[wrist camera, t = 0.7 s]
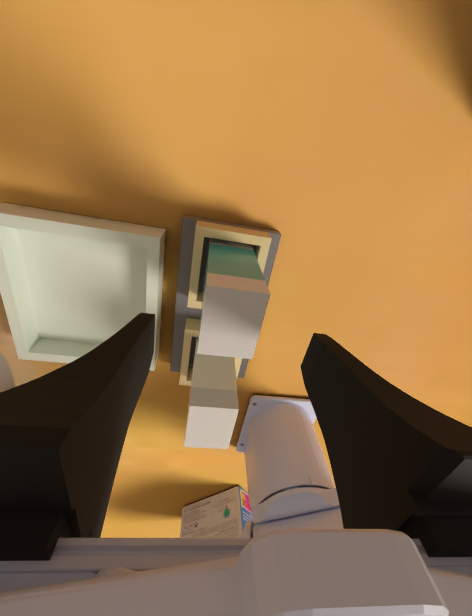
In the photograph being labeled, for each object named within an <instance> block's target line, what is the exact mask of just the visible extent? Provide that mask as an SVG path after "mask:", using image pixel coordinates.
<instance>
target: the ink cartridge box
mask: <svg viewBox="0 0 472 616" xmlns="http://www.w3.org/2000/svg"><path fill="white" fill-rule="evenodd" d="M248 521H253V516H252V510H251V507H250V503H249V495H248V493H247V492H246V491H245V490H244V489H242V488H241V487H240V486H236V487H234V488H231V489H229V490H226V491H224V492H221V493H219V494H216V495H214V496H211V497H208V498H206V499H203V500H201V501H198V502H195V503H193V504H190V505H188V506H185V507H183V509H182V521H181V533H180V538H240V537H241V533H242V531H243V529H244V527H245V524H246V522H248Z"/></svg>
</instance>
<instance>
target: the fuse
mask: <svg viewBox="0 0 472 616" xmlns="http://www.w3.org/2000/svg"><path fill="white" fill-rule="evenodd" d="M197 347H198V337H196V345H195V352H194V360H193V368H192V377H191V386H190V395H189V404H188V414H187V423H186V432H185V441H184V447H198V448H218V449H228V448H229V444H230V441H231V437H232V433H233V429H234V426H235V422H236V418H237V415H238V411H239V404H238V393H237V382H236V370H235V359H234V357H224V356H214V355H204V354H197Z"/></svg>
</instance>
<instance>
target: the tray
mask: <svg viewBox="0 0 472 616" xmlns="http://www.w3.org/2000/svg"><path fill="white" fill-rule="evenodd" d="M165 238H166V229H163V228H157V227H151V226H145V225H139V224H133V223H126V222H120V221H114V220H108V219H102V218H96V217H89V216H83V215H77V214H71V213H65V212H58V211H52V210H46V209H40V208H34V207H28V206H21V205H15V204H9V203H2V204H0V293H1V296H2V300H3V304H4V307H5V311H6V315H7V318H8V322H9V326H10V329H11V333H12V337H13V340H14V344H15V348H16V351H17V355H18V359H23V360H35V361H46V362H58V363H71V362H73V361H74V360H76V359H78V358H80V357H81V356H83V355H85V354H87V353H88V352H90V351H91V350H93V349H94V348H96V347H97V346H99V345H100V344H101V343H103V342H104V341H106V340H107V339H109V338H110V337H111V336H112V335H114V334H115V333H116V332H118V331H119V330H120V329H121V328H123V327H124V326H125V325H126V324H127V323H129V322H130V321H131V320H132V319H133V318H134V317H136V316H137V315H138V314H139V313H149V314H155V336H154V353H153V357H152V361H151V366H150V369H149V371H154V370H155V367H156V363H157V360H158V356H159V350H160V331H161V313H162V294H163V275H164V257H165Z"/></svg>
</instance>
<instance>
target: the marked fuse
mask: <svg viewBox="0 0 472 616" xmlns="http://www.w3.org/2000/svg"><path fill="white" fill-rule="evenodd" d="M269 297H270V292H269V289H268V287H267V284H266V282H265V279H264V276H263V274H262V271H261V268H260V266H259V263H258V260H257V258H256V255H255V252H254V250H253V247H252V245H251V244H246V243H240V242H234V241H227V240H221V239H215V238H210V240H209V248H208V255H207V263H206V270H205V278H204V285H203V294H202V305H201V316H200V326H199V337H198V347H197V354H204V355H214V356H224V357H235V358H245V359H253V356H254V352H255V348H256V345H257V341H258V337H259V334H260V330H261V326H262V322H263V319H264V315H265V311H266V308H267V304H268V300H269Z"/></svg>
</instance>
